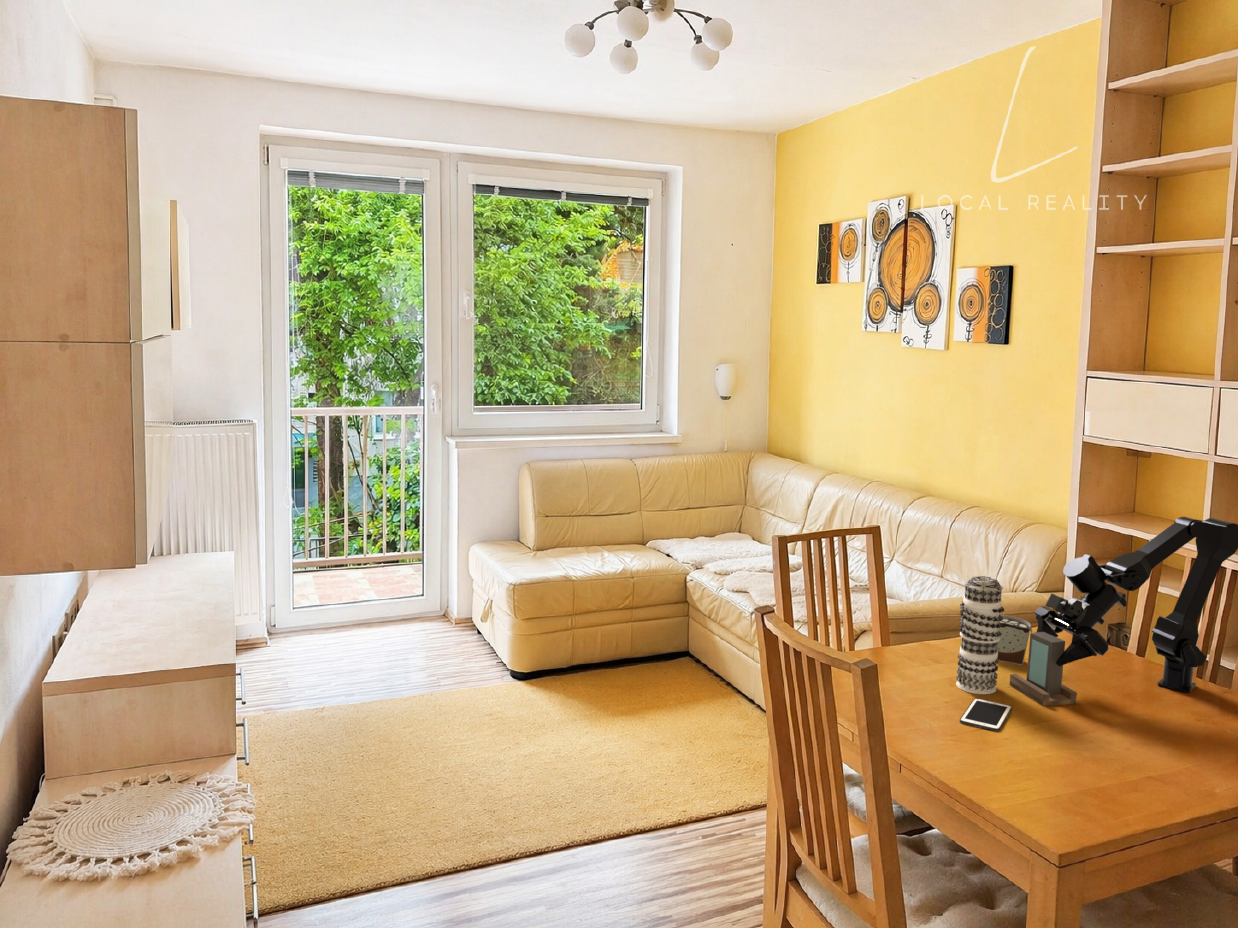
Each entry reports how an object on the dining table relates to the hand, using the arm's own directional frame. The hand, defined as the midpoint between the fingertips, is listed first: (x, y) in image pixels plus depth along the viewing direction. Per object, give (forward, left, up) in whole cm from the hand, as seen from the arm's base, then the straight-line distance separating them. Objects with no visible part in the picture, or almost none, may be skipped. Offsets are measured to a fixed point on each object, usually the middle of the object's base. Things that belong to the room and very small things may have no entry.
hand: (1043, 657), depth 205 cm
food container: (-18, -15, -9) cm, 25 cm away
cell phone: (+20, -4, -9) cm, 23 cm away
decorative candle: (+6, -12, -9) cm, 16 cm away
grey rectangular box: (-1, 0, -7) cm, 8 cm away
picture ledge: (0, 0, -8) cm, 8 cm away
